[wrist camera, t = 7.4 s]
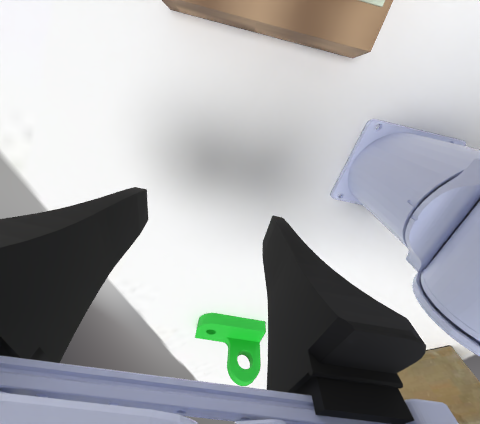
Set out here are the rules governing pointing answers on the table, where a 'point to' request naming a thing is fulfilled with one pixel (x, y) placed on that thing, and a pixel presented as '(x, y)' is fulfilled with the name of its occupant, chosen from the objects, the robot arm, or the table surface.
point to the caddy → (444, 383)
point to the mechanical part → (235, 342)
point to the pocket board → (299, 20)
